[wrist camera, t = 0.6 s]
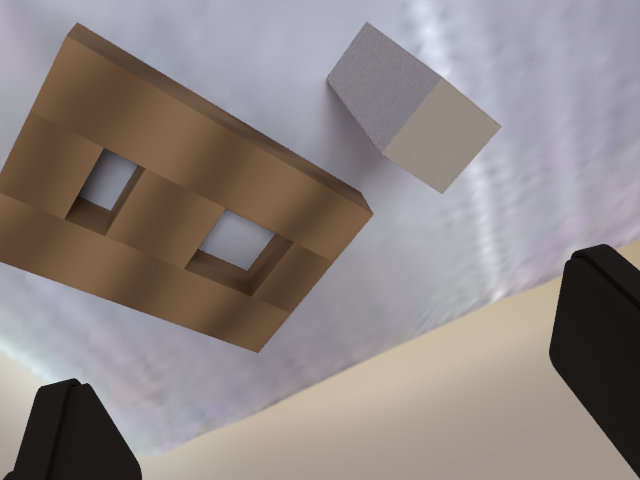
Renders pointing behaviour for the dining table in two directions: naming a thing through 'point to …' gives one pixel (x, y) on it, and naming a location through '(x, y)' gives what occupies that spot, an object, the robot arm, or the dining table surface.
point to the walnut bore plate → (165, 199)
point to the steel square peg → (410, 109)
